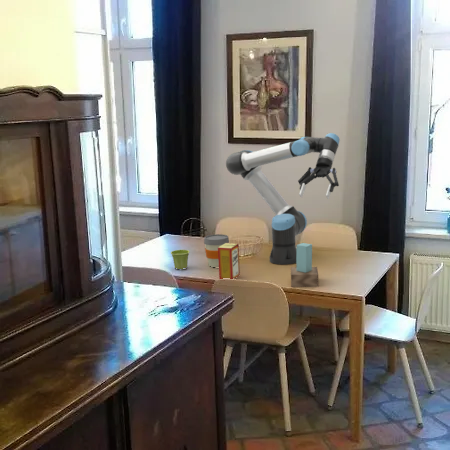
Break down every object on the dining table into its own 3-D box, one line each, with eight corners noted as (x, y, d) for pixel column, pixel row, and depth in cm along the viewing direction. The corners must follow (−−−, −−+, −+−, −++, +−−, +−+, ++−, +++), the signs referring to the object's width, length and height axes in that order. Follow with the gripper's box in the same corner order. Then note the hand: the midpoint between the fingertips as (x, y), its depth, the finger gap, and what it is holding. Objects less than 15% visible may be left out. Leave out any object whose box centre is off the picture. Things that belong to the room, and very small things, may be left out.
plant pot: (193, 266, 324) (192, 249, 323) (186, 271, 316) (185, 254, 314) (176, 265, 328) (175, 249, 326) (168, 270, 319) (167, 253, 317)
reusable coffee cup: (201, 268, 320) (200, 239, 317) (210, 261, 331) (209, 233, 328) (225, 269, 316) (223, 240, 313) (233, 263, 327) (232, 234, 324)
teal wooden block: (296, 270, 287) (296, 245, 285) (302, 268, 291) (302, 242, 288) (305, 272, 284) (306, 246, 281) (311, 270, 288) (312, 244, 285)
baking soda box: (232, 280, 297) (230, 247, 293) (219, 279, 299) (217, 246, 296) (239, 275, 305) (238, 242, 302) (227, 274, 308) (225, 242, 304)
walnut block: (291, 287, 283) (290, 274, 282) (291, 279, 295) (290, 267, 294) (318, 287, 282) (318, 274, 281) (317, 279, 294) (317, 266, 293)
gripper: (351, 166, 309) (340, 202, 299) (304, 165, 322) (292, 199, 312) (347, 156, 303) (336, 192, 294) (299, 156, 316) (287, 190, 307)
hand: (313, 196), depth 303 cm, fingers open, 13 cm apart
